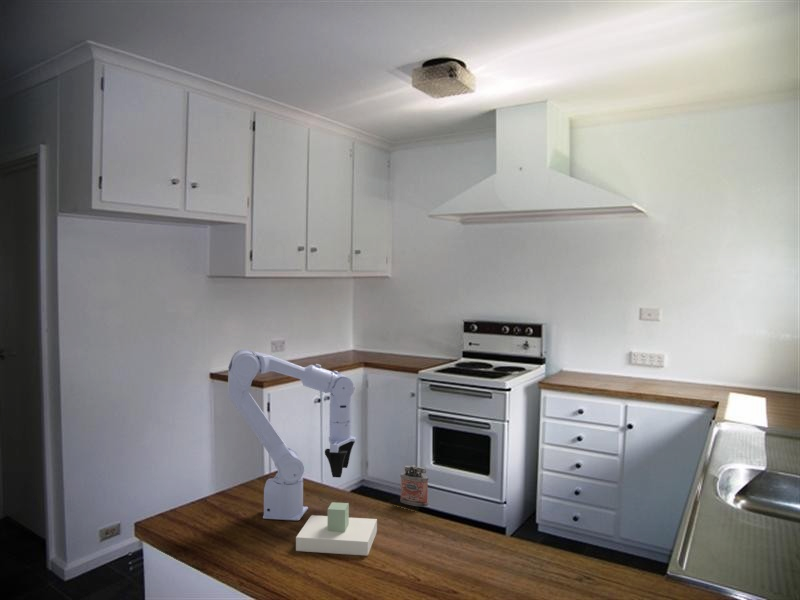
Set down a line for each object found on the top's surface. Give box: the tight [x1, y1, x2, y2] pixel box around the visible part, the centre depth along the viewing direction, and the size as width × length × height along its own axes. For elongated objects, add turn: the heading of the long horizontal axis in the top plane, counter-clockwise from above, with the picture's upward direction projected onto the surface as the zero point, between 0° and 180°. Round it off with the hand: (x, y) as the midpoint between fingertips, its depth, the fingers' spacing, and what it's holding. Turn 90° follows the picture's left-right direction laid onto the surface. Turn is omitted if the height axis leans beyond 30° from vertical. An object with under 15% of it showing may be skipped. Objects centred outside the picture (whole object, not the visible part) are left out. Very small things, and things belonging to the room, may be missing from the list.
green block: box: [327, 502, 350, 532], centre depth 126 cm, size 4×4×5 cm
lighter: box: [399, 464, 429, 508], centre depth 149 cm, size 8×3×10 cm, turn 62°
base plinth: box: [295, 514, 378, 557], centre depth 126 cm, size 16×12×3 cm
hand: (340, 472), depth 146 cm, fingers open, 7 cm apart
